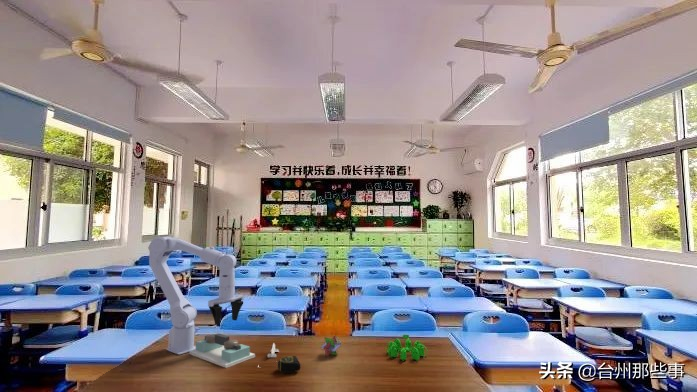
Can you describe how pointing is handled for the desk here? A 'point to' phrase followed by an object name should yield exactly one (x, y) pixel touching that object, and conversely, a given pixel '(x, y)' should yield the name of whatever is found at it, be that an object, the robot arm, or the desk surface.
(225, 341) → the rod with two spheres
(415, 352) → the green lumpy cluster
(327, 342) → the geometric puzzle
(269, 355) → the white tapered piece
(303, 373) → the desk surface
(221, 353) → the stand
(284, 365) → the tape measure
